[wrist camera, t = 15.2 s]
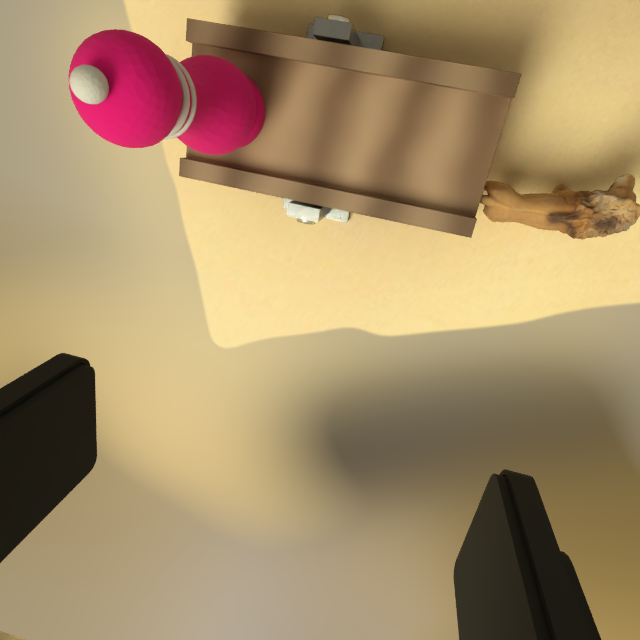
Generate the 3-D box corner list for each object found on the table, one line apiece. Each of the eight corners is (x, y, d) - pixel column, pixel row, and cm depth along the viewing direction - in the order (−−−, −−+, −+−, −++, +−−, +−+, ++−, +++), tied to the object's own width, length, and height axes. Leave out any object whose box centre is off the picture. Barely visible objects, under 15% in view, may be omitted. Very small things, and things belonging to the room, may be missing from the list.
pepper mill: (219, 45, 39) (40, -44, 20) (286, 100, 39) (171, 61, 21) (180, 120, 41) (-7, 101, 23) (243, 170, 42) (108, 190, 24)
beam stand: (384, 37, 42) (378, 17, 35) (348, 221, 48) (337, 233, 42) (310, 25, 42) (291, 4, 36) (284, 207, 49) (265, 217, 42)
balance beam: (514, 78, 37) (521, 73, 34) (468, 232, 41) (471, 237, 39) (201, 26, 40) (187, 18, 37) (192, 174, 45) (179, 175, 42)
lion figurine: (612, 169, 42) (661, 175, 34) (603, 227, 44) (647, 246, 36) (448, 176, 45) (455, 184, 37) (445, 230, 47) (452, 249, 38)
